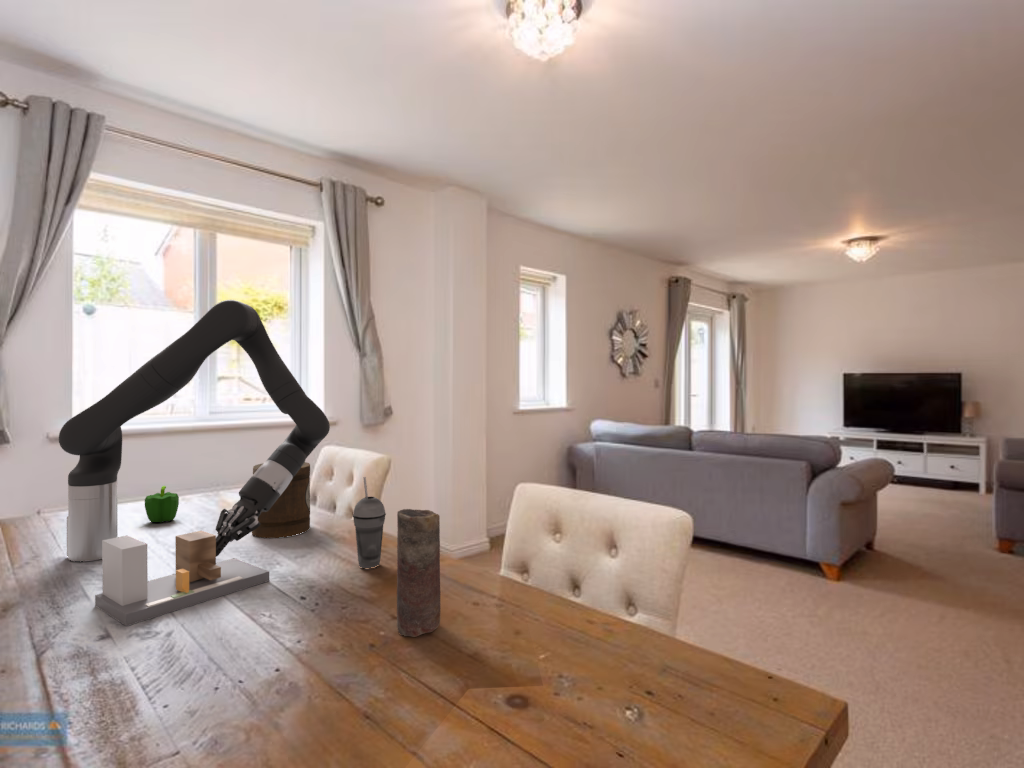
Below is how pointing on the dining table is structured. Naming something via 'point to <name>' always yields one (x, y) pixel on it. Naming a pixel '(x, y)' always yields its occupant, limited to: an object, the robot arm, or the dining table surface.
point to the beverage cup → (369, 529)
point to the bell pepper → (161, 506)
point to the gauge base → (160, 583)
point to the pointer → (182, 580)
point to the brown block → (197, 555)
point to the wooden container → (288, 508)
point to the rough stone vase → (418, 572)
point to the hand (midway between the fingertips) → (211, 554)
